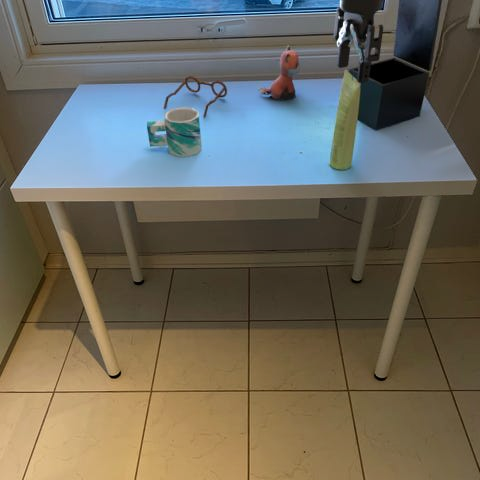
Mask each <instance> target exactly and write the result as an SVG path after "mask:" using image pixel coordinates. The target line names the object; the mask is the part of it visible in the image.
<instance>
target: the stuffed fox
mask: <svg viewBox="0 0 480 480" xmlns="http://www.w3.org/2000/svg"><path fill="white" fill-rule="evenodd" d="M279 68H280V74H279V76H278V77H277V78H276V79H275V80H274V81H273V82H272V84H271V85H270V87H269V88H266V87H258V88H257V90H258V91H259V93H260V94H261V95H265V96H271V97H272V99H275V100H279V101H282V100H283V101H287V100H294V99H296V98H297V95H296V88H295V85H294V82H293V80H294V76H296V75H297V74H299V72H300V71H301V65H300V60H299V55H298V54H297V52H296V51H294V50H291V46H290V45H289V44H288V45H287V46H286V48H285V51H284V52H282V53H281V55H280V57H279Z"/></svg>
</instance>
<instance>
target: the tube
mask: <svg viewBox="0 0 480 480" xmlns="http://www.w3.org/2000/svg"><path fill="white" fill-rule="evenodd" d="M360 85H361V83H358V82H357V80H356V79H355V78H354V77H353V76H352V75H351V74H350V73H349V70H347V69H346V68H345V69H344V74H343V78H342V82H341V87H340V94H339V98H338V104H337V111H336V114H335V115H336V116H335V122H334V127H333V134H332V142H331V149H330V156H329V166H330V167H331V168H333V169H335V170H341V171H343V170H348V169H350V168H351V167H352V164H353V156H354V149H355V142H356V133H357V125H358V120H357V118H358V109H359V99H360Z"/></svg>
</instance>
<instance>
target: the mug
mask: <svg viewBox="0 0 480 480" xmlns="http://www.w3.org/2000/svg"><path fill="white" fill-rule="evenodd" d="M200 124H201V123H200V113H199V111H198V110H196V109H195V108H192V107H183V106H181V107H177V108H171V109H169V110H168V111H166V112H165V113H164V117H163V120H150V121H147V123H146V129H147V137H148V142H149V147H150V148H151V147H167V149H168V153H169V154H171V155H173V156H174V157H181V158H187V157H191V156H196V155H197V154H198V153H200V152H201V151H202V150H203V149H202V137H201V135H202V134H201V125H200ZM158 132H165V133H160V134H156V133H158Z"/></svg>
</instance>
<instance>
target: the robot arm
mask: <svg viewBox="0 0 480 480" xmlns="http://www.w3.org/2000/svg"><path fill="white" fill-rule="evenodd" d="M383 1H384V0H339V6H338V7H337V8H336V13H335V20H334V28H333V35H332V36H333V37H332V38H333V41H334V42H336V46H337V47H338V51H337V60H336V67H337V68H338V69H344V68H347V67H348V66H349V61H350V55H351V44H352V43H353V45H354V50H355V51H356V52H357V54H358V66H357V67H358V73H357V82H358V83H364V82H367V81H368V79H369V74H370V67H371V63H375V62H379V61H380V59H381V58H380V57H381V50H382V49H381V48H382V40H383V33H384V25H383V24H375V14H376V13H377V12H379V11H380V10H381V9H382V6H383Z"/></svg>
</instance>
